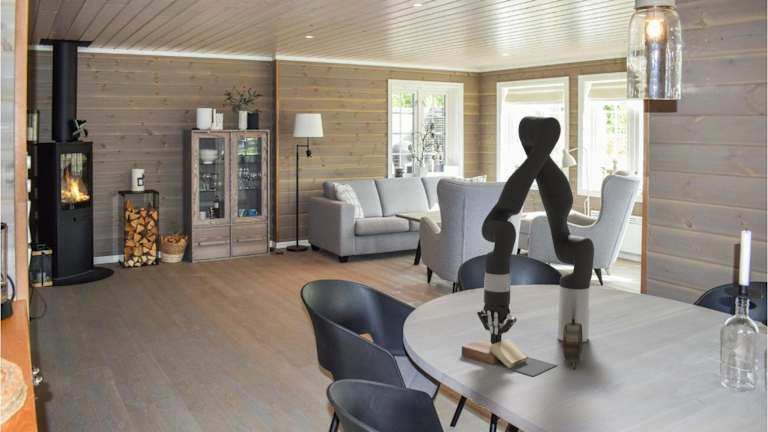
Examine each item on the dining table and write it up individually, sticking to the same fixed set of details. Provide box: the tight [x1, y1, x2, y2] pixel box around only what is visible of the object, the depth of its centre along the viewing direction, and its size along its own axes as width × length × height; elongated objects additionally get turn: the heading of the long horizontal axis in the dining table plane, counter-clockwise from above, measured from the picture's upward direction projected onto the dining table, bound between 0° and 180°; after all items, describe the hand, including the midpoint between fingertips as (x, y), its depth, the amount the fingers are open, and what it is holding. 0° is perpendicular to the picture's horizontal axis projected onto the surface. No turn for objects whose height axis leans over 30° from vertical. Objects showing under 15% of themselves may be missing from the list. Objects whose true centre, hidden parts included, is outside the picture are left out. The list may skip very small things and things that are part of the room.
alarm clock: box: [561, 309, 584, 370], centre depth 199 cm, size 11×5×16 cm, turn 160°
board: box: [461, 338, 501, 366], centre depth 206 cm, size 10×12×3 cm
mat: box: [493, 356, 558, 377], centre depth 199 cm, size 12×13×1 cm
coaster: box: [489, 338, 529, 368], centre depth 200 cm, size 8×8×2 cm
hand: (495, 345), depth 204 cm, fingers closed
